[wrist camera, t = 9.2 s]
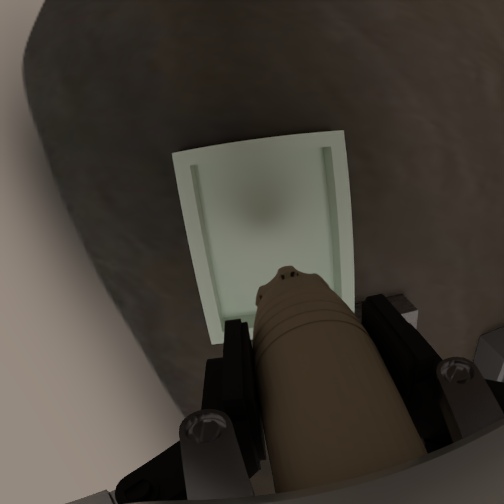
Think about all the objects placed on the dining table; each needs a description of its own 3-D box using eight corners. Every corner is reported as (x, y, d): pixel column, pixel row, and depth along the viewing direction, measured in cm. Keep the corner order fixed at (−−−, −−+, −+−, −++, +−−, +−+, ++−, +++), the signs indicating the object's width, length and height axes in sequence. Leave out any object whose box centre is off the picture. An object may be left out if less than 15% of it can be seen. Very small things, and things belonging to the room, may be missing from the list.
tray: (178, 152, 22) (171, 153, 19) (332, 131, 22) (343, 130, 19) (213, 327, 26) (211, 344, 24) (344, 306, 26) (354, 321, 24)
